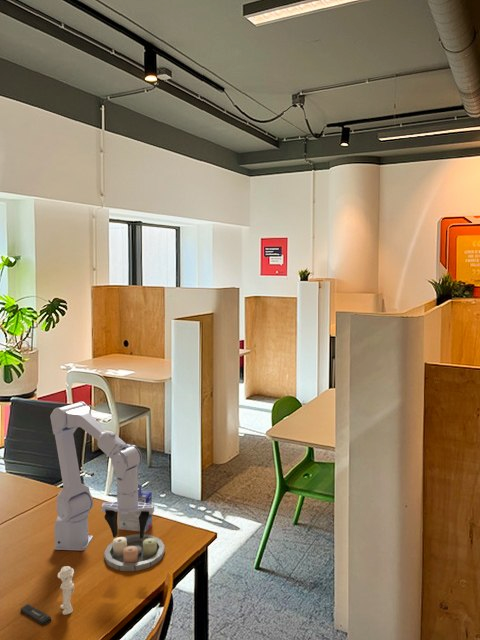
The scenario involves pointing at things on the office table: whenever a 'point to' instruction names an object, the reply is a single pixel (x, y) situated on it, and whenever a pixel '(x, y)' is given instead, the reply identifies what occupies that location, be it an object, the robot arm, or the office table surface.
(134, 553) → the bead terracotta
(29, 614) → the usb stick
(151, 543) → the bead olive
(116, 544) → the bead cream
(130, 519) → the ink cartridge box
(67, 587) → the hat wearing toy figure
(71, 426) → the robot arm
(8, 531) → the office table surface
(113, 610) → the office table surface
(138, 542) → the tray
